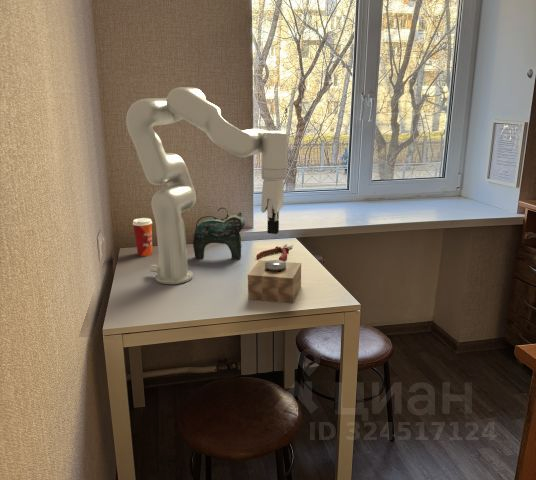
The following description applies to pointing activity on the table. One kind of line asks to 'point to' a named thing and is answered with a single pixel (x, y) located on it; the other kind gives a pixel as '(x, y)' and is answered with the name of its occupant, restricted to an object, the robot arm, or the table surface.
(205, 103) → the robot arm
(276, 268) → the grey metal rounded piece
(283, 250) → the pliers
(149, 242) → the paper cup
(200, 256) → the ceramic cat
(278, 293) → the socket block
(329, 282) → the table surface
